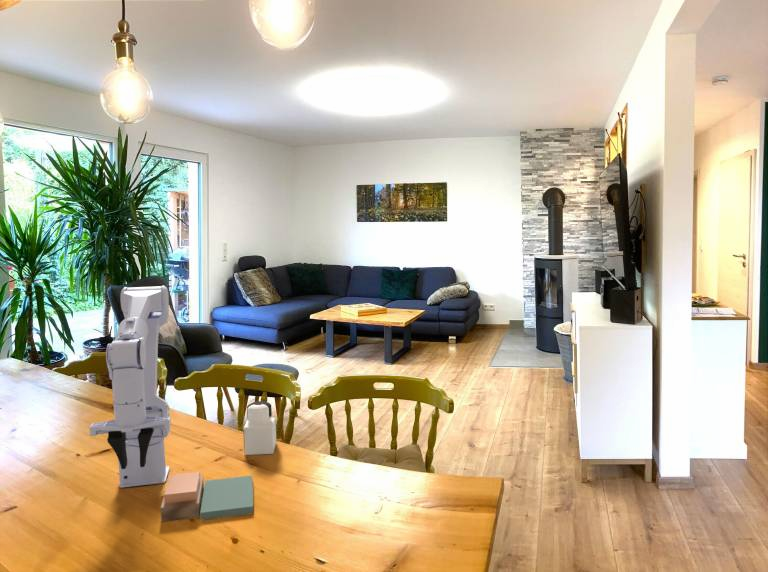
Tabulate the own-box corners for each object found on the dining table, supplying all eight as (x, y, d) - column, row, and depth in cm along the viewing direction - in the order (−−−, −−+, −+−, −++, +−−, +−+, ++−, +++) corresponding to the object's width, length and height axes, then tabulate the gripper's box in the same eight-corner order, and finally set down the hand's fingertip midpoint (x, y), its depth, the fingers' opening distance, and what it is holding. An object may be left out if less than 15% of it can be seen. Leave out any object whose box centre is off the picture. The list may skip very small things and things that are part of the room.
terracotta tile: (164, 503, 111) (163, 494, 111) (170, 482, 120) (169, 474, 120) (196, 499, 113) (196, 491, 112) (200, 479, 121) (199, 471, 121)
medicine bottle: (248, 444, 148) (246, 399, 146) (276, 443, 148) (274, 398, 147) (244, 455, 141) (242, 408, 139) (273, 454, 141) (271, 407, 140)
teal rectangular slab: (200, 520, 111) (200, 512, 111) (205, 487, 124) (205, 480, 124) (253, 513, 113) (253, 506, 113) (252, 481, 127) (252, 475, 126)
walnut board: (161, 522, 110) (160, 507, 110) (169, 493, 122) (168, 480, 121) (199, 517, 112) (198, 503, 111) (203, 489, 123) (203, 476, 123)
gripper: (83, 409, 106) (88, 479, 108) (165, 403, 110) (169, 470, 111) (93, 398, 113) (98, 463, 115) (170, 392, 116) (174, 455, 118)
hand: (133, 466), depth 113 cm, fingers open, 3 cm apart
